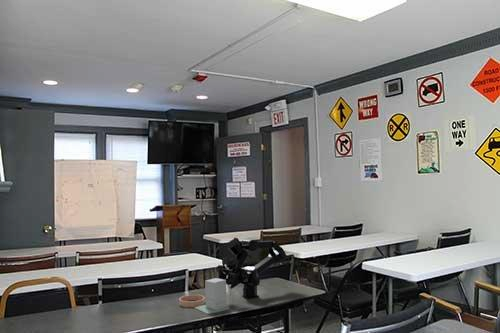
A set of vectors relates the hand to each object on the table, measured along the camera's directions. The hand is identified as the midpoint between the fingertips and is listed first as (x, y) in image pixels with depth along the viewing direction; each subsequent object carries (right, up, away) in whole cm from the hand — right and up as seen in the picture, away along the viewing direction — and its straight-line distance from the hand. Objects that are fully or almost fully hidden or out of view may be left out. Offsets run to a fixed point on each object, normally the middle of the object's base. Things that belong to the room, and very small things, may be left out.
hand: (224, 286), depth 197 cm
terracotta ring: (-16, -9, +3) cm, 19 cm away
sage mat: (-5, -8, -6) cm, 12 cm away
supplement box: (-3, -8, -6) cm, 10 cm away
